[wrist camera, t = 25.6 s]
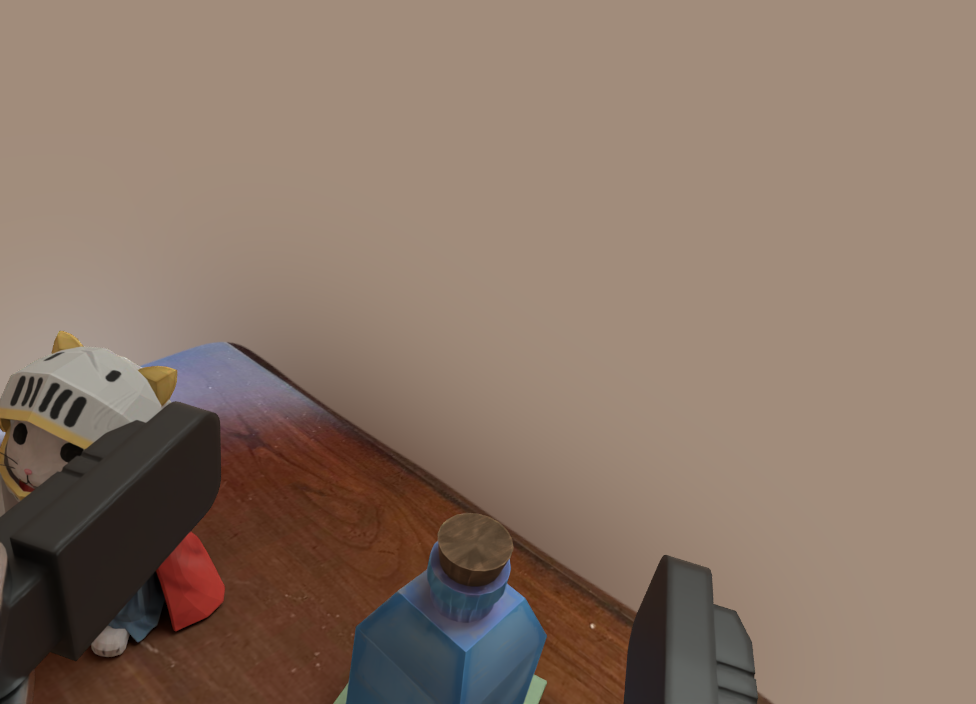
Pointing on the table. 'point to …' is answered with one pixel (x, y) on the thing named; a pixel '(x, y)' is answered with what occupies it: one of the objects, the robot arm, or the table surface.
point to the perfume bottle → (451, 628)
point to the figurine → (64, 435)
